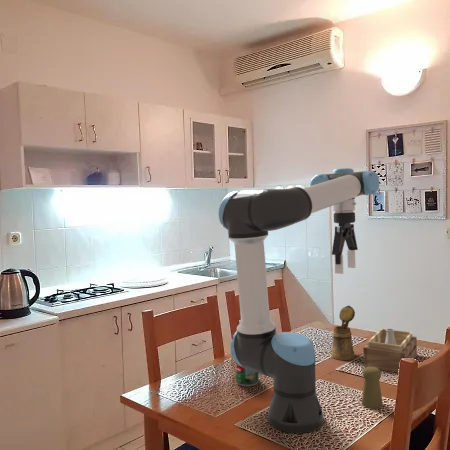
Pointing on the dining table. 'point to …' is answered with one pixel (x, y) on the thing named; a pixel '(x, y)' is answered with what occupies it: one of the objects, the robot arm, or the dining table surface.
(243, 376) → the canned tomato
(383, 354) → the wooden drawer box
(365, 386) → the cork
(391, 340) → the flask
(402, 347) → the pine crate
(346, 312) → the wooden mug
